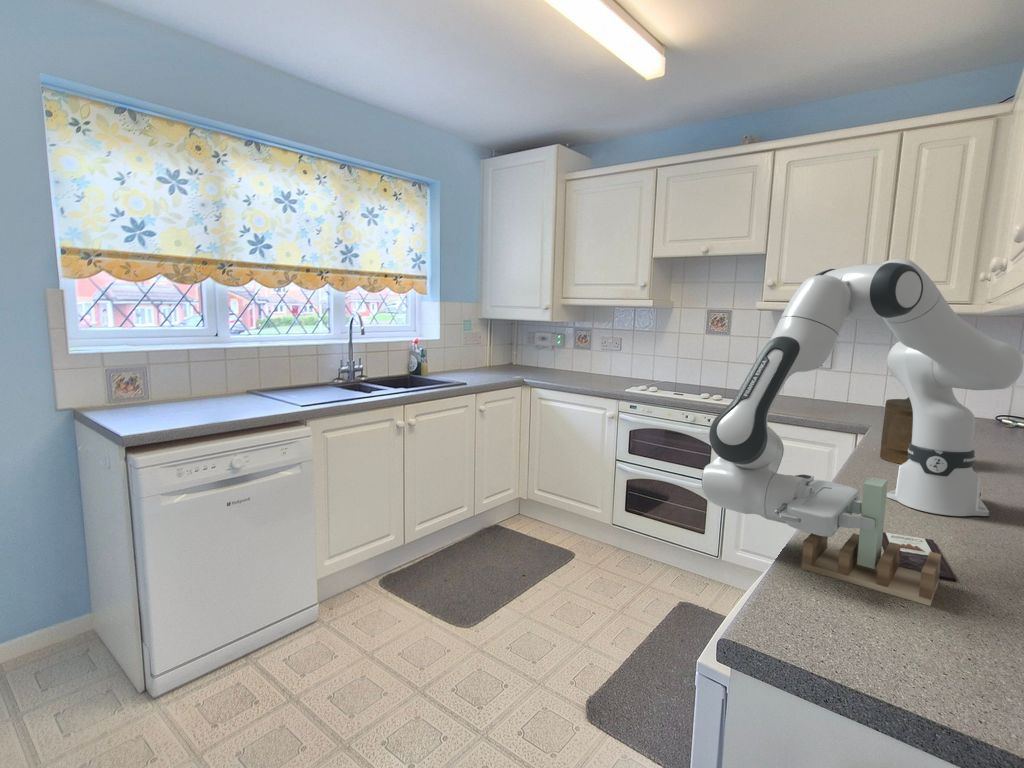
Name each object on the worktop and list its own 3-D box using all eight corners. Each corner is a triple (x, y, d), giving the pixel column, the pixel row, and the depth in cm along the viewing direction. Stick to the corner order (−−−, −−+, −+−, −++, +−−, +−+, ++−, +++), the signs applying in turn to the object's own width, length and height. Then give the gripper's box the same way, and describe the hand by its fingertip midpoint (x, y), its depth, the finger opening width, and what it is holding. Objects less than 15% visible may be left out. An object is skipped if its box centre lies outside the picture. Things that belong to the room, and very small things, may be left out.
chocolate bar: (890, 567, 94) (877, 531, 110) (890, 572, 94) (877, 535, 110) (956, 578, 90) (932, 539, 106) (955, 584, 90) (932, 544, 106)
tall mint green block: (863, 554, 94) (870, 477, 93) (880, 559, 93) (887, 480, 91) (856, 564, 91) (863, 483, 89) (874, 568, 89) (881, 486, 87)
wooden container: (951, 468, 158) (958, 393, 155) (895, 465, 160) (902, 392, 158) (921, 455, 173) (927, 387, 170) (870, 453, 175) (876, 386, 172)
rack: (817, 550, 102) (819, 525, 101) (938, 582, 89) (941, 554, 89) (801, 568, 95) (803, 541, 94) (930, 606, 82) (933, 574, 82)
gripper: (771, 497, 92) (867, 517, 82) (807, 472, 106) (891, 487, 97) (769, 532, 93) (863, 557, 83) (805, 503, 107) (888, 521, 98)
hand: (879, 519), depth 90 cm, fingers closed on tall mint green block, 5 cm apart
